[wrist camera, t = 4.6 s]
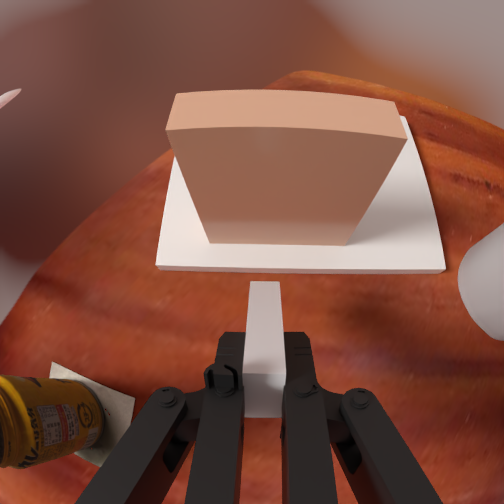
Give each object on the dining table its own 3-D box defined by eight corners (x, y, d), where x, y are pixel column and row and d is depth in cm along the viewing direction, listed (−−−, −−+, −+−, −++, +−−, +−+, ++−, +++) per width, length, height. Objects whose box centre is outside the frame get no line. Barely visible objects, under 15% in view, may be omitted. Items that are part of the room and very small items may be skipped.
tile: (341, 214, 23) (392, 98, 12) (344, 246, 22) (407, 138, 11) (212, 211, 23) (177, 90, 12) (209, 243, 22) (165, 130, 11)
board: (401, 123, 28) (404, 116, 27) (439, 273, 22) (445, 269, 21) (189, 113, 29) (187, 105, 28) (160, 269, 23) (155, 265, 22)
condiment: (53, 361, 20) (-55, 342, 9) (136, 398, 20) (31, 414, 8) (43, 433, 18) (-58, 446, 7) (122, 476, 17) (31, 531, 6)
